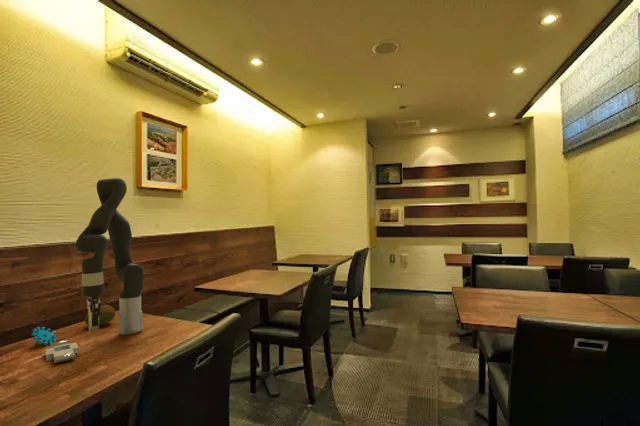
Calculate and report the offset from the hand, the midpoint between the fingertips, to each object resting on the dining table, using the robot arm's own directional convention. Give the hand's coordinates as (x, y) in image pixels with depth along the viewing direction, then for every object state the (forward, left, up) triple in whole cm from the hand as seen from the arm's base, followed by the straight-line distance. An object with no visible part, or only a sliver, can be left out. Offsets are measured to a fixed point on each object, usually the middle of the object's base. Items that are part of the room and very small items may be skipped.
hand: (94, 324), depth 132 cm
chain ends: (+10, -9, -12) cm, 18 cm away
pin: (0, 0, -2) cm, 2 cm away
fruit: (-8, -40, -12) cm, 43 cm away
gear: (+14, -29, -12) cm, 34 cm away
